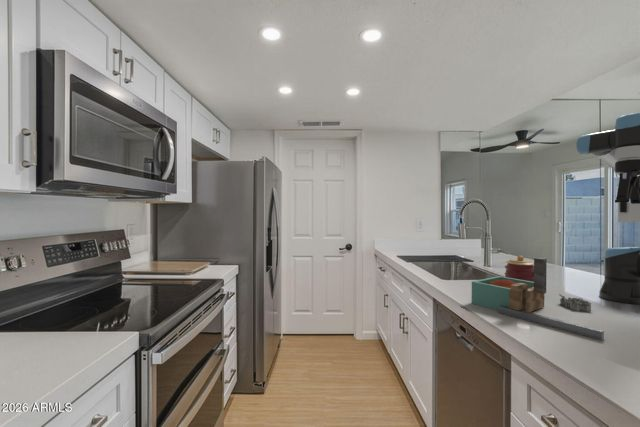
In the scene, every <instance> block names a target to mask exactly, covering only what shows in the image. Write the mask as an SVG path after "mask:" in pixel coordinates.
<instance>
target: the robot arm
mask: <svg viewBox="0 0 640 427" xmlns="http://www.w3.org/2000/svg"><path fill="white" fill-rule="evenodd" d="M575 144H576V146H575V147H576V150H577V152H578V153H579V154H580V155H589V154H592V155H594V156H595V157H597V158H599V159H600V160H602V162H604V163H606V164H607V165H608V166H610V167H612V170H613V171H614V173H615V174H617V175H619V179H618V187H617V192H616V198H615V199H614V202H615V203H617V205H618V207H617V208H618V210H617V212H618V213H617V217H618V218H617V223H629V224H631V223H640V112H634V113H628V114H624V115H620V116H619V117H617V118H616V119H615V125H614V129H611V130H606V131H601V132H594V133H589V134H585V135H580V136H578V138H577V139H576V143H575ZM598 295H599V298H601V299H604V300H608V301H613V302H618V303H624V304H631V305H633V304H634V305H640V246H620V247H618V246H617V247H609V248H607V249H605V252H604V281H603V283H602V285H601V287H600V289H599V294H598Z"/></svg>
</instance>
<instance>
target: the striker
mask: <svg viewBox="0 0 640 427" xmlns="http://www.w3.org/2000/svg"><path fill="white" fill-rule="evenodd" d="M533 263H534V287H532V288H529V289H528V285H526V284H525V283H517V284H513V285H511V289H509V308H510V309H514V310H522V311H526V312H530V313H533V312H534V311H536V310H539V309H542V308H544V307H545V294H547V258H544V257H543V258H542V257H534V258H533Z"/></svg>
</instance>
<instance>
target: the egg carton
mask: <svg viewBox="0 0 640 427" xmlns="http://www.w3.org/2000/svg"><path fill="white" fill-rule="evenodd" d="M558 295H559V296H560V297H561V298H560V299H559V302H560V305H562V306H564V307H566V308H569V309H570V310H573V311H577V312H578V311H579V312H580V311H585V312H591V311H592V304H593V303H592V302H589V301H588V300H584V299H583V298H582V297H573V298H571V297H568V298H566V297H565V296H564V295H562V294H561V293H559V294H558Z"/></svg>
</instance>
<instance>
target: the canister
mask: <svg viewBox="0 0 640 427" xmlns="http://www.w3.org/2000/svg"><path fill="white" fill-rule="evenodd" d="M504 268H505V272H504V277H507V278H513V279H519V280H525V281H531V282H534V262H532V261H531V260H528V259H525V258H524V256H523V255H518V256H517V257H516V258H511V259H509V260H507V261H506V265H504Z"/></svg>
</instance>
